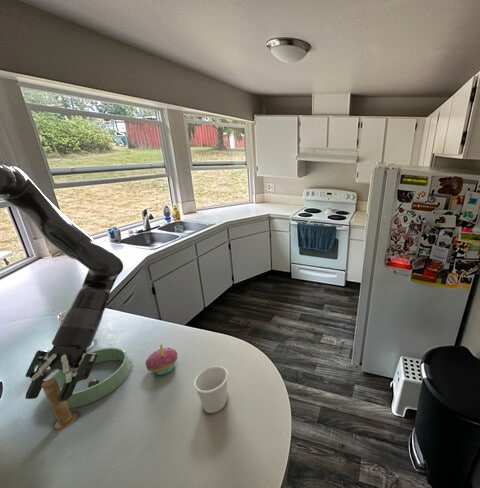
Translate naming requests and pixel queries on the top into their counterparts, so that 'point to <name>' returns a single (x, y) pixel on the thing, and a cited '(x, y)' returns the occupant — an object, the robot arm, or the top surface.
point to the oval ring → (102, 387)
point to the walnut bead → (93, 383)
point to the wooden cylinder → (58, 404)
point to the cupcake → (161, 360)
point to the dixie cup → (212, 388)
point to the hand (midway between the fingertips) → (46, 399)
